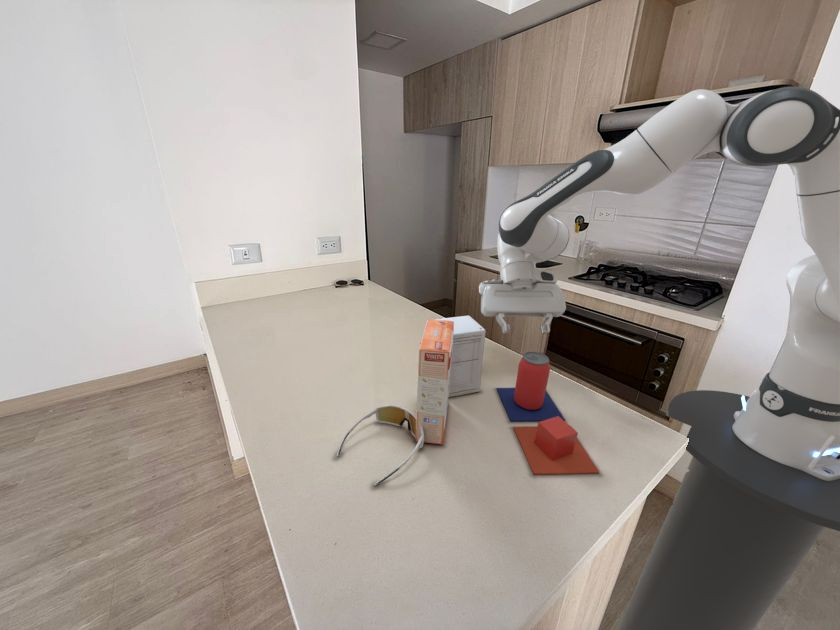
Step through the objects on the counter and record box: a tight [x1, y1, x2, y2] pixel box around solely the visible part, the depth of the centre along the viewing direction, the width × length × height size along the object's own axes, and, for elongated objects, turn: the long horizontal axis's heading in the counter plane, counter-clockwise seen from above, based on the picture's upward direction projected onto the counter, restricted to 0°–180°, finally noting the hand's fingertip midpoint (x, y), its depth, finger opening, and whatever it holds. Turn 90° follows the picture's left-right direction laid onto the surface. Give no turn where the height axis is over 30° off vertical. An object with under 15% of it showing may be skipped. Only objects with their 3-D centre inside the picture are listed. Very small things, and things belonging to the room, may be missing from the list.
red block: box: [535, 416, 579, 460], centre depth 65 cm, size 5×5×5 cm
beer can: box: [514, 350, 551, 410], centre depth 77 cm, size 7×7×12 cm
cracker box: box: [415, 318, 454, 445], centre depth 69 cm, size 14×6×21 cm, turn 172°
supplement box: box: [434, 314, 487, 398], centre depth 82 cm, size 10×9×17 cm
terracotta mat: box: [513, 426, 600, 476], centre depth 66 cm, size 12×12×1 cm
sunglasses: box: [336, 403, 425, 486], centre depth 65 cm, size 14×15×5 cm
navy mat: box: [496, 387, 566, 423], centre depth 79 cm, size 12×12×1 cm
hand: (526, 332), depth 81 cm, fingers open, 8 cm apart
